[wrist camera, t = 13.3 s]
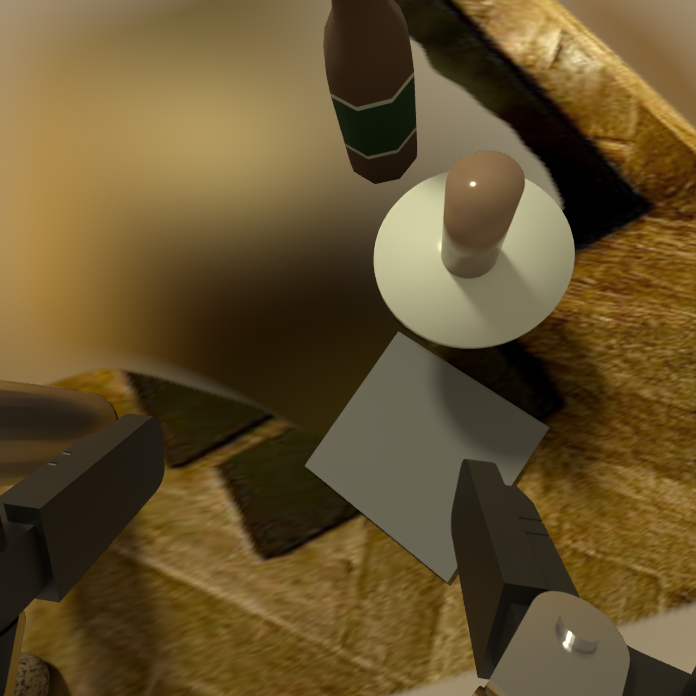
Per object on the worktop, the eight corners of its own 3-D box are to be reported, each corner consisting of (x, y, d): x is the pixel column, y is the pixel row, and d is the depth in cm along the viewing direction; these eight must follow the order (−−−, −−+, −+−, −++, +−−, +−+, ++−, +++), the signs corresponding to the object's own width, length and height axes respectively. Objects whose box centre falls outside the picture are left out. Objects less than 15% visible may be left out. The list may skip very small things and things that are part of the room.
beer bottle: (432, 161, 43) (435, -157, 20) (370, 199, 43) (302, -68, 20) (396, 113, 45) (362, -224, 22) (337, 149, 45) (244, -142, 22)
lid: (340, 286, 31) (306, 229, 22) (440, 146, 32) (444, 39, 23) (500, 387, 27) (534, 365, 18) (610, 225, 28) (691, 131, 19)
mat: (306, 465, 38) (304, 465, 38) (398, 332, 39) (398, 331, 39) (447, 580, 34) (447, 582, 33) (547, 427, 35) (549, 427, 34)
